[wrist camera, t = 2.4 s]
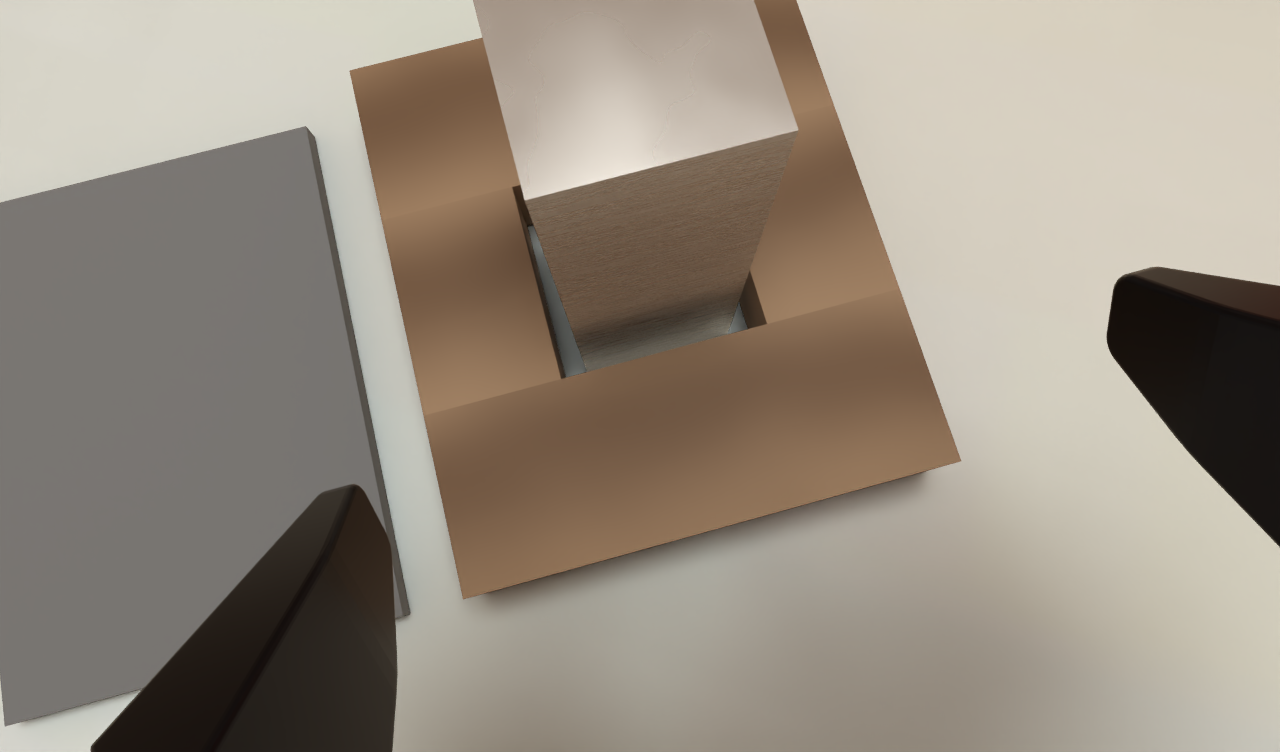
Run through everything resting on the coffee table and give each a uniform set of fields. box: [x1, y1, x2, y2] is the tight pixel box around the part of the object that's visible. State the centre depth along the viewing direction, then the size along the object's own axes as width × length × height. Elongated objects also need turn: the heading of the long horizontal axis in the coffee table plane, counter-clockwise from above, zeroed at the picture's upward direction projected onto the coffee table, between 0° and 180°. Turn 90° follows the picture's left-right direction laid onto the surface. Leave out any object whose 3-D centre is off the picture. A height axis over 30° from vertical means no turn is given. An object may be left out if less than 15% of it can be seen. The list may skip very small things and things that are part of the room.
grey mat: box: [0, 126, 410, 726], centre depth 21 cm, size 14×10×1 cm
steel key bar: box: [473, 0, 798, 372], centre depth 17 cm, size 4×4×11 cm
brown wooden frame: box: [350, 0, 961, 599], centre depth 21 cm, size 14×12×2 cm
